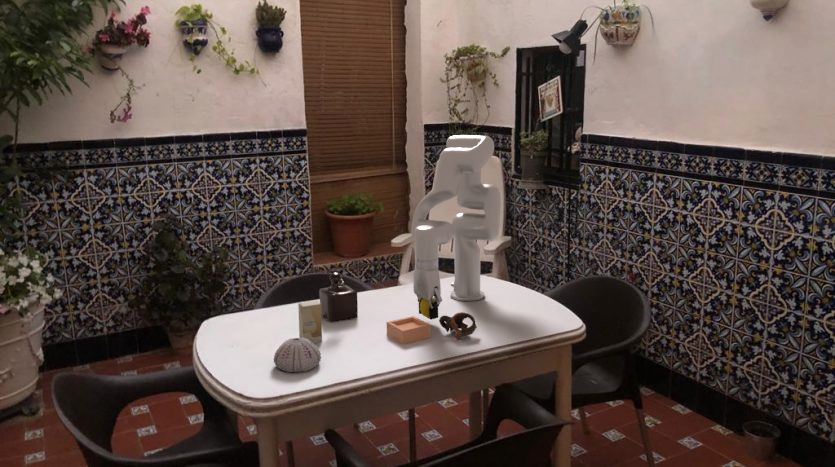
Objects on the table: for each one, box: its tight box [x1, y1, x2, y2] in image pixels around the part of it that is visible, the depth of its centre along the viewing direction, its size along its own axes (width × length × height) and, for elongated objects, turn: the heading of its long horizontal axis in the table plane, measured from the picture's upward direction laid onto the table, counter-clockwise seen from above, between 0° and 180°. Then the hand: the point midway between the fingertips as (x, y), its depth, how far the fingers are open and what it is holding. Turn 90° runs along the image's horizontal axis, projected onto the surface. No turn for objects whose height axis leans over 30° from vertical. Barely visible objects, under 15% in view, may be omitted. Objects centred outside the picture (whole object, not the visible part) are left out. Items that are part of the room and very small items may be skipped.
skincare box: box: [297, 300, 323, 343], centre depth 211 cm, size 6×4×12 cm
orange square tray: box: [386, 315, 431, 345], centre depth 214 cm, size 10×10×4 cm
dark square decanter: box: [318, 269, 359, 323], centre depth 231 cm, size 16×11×18 cm
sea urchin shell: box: [273, 337, 322, 373], centre depth 193 cm, size 13×14×8 cm
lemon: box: [420, 298, 435, 320], centre depth 225 cm, size 6×6×8 cm
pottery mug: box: [438, 311, 477, 341], centre depth 214 cm, size 12×10×8 cm
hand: (428, 315), depth 226 cm, fingers closed on lemon, 5 cm apart
